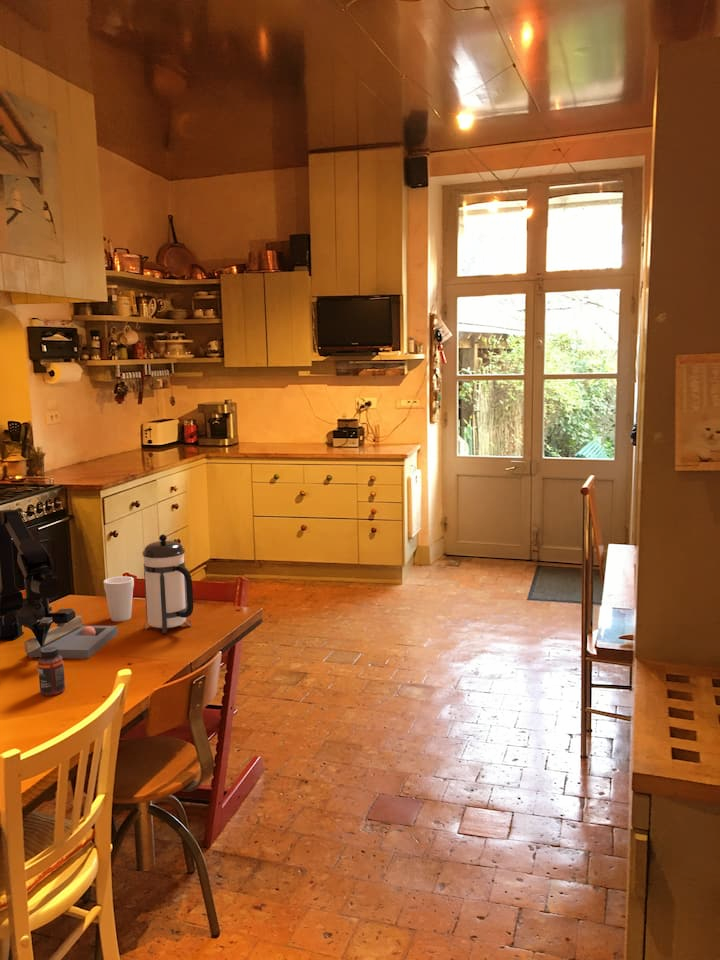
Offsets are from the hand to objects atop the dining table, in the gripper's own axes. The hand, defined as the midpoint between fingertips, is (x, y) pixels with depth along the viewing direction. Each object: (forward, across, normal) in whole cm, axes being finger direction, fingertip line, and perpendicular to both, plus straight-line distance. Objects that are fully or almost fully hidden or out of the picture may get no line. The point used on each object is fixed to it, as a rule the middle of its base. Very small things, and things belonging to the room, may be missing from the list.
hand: (42, 646), depth 217 cm
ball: (+2, +6, +17) cm, 18 cm away
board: (+4, +4, +11) cm, 13 cm away
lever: (+1, -1, +9) cm, 9 cm away
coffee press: (+4, +28, +28) cm, 40 cm away
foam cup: (+4, +8, +37) cm, 38 cm away
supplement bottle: (+5, +14, -22) cm, 27 cm away
